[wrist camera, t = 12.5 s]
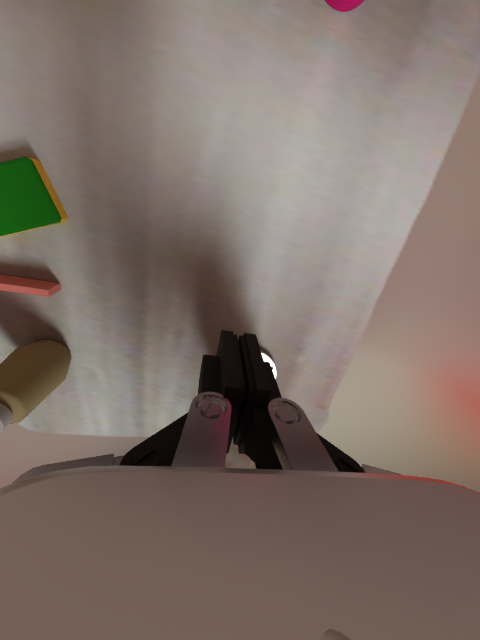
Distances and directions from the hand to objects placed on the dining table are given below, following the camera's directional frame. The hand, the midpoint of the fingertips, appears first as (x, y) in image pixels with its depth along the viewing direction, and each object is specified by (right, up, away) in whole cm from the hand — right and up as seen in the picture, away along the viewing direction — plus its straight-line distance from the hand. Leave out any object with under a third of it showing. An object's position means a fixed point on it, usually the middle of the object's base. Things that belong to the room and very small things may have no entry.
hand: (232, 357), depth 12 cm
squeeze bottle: (-31, -4, +29) cm, 43 cm away
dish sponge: (-30, +17, +20) cm, 40 cm away
